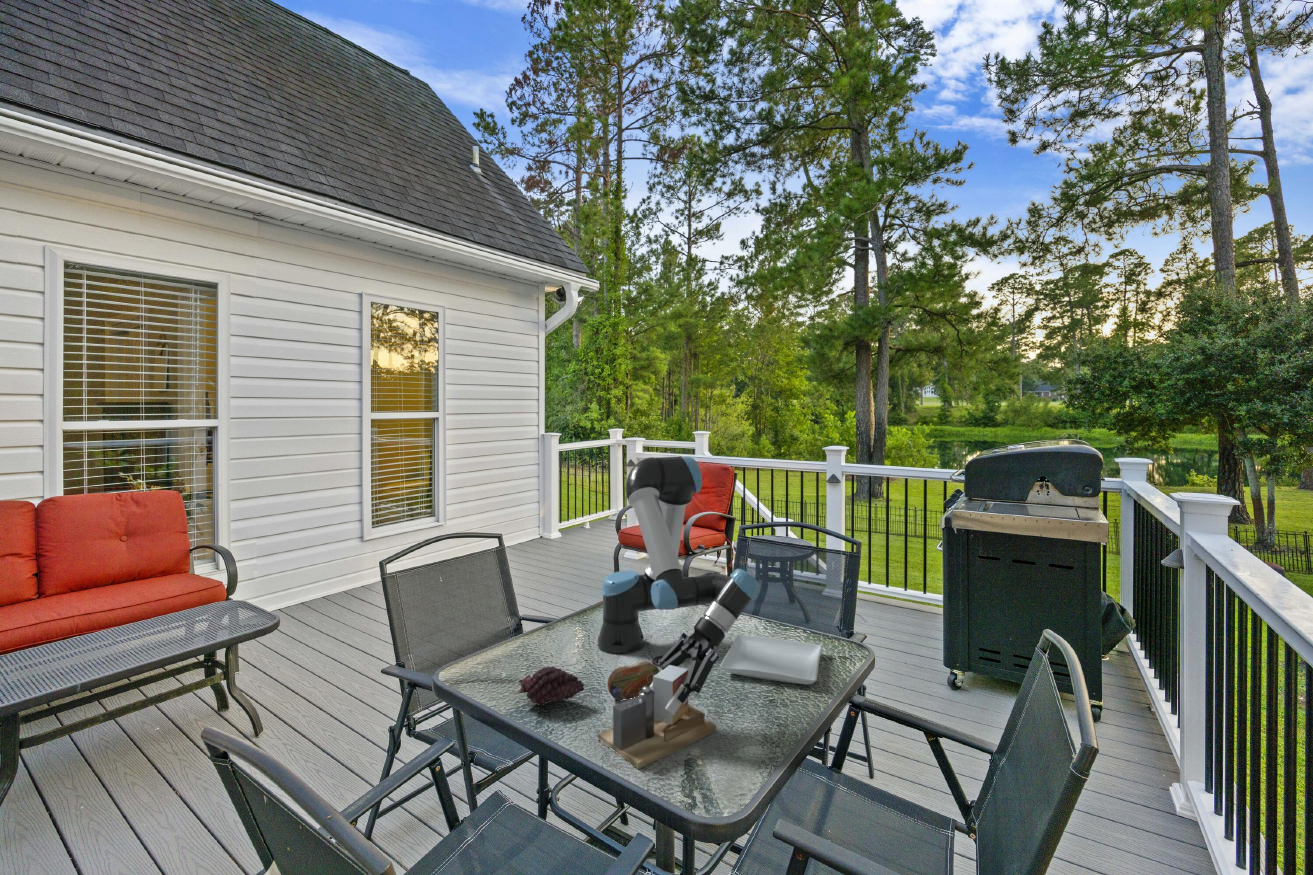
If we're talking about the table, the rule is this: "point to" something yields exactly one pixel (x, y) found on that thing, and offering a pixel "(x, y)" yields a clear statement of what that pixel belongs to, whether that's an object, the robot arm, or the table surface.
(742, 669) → the square plate
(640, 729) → the hinge leaf
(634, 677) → the tin
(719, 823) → the table surface
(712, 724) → the tan wooden flat tray
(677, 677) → the small box
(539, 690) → the pine cone
